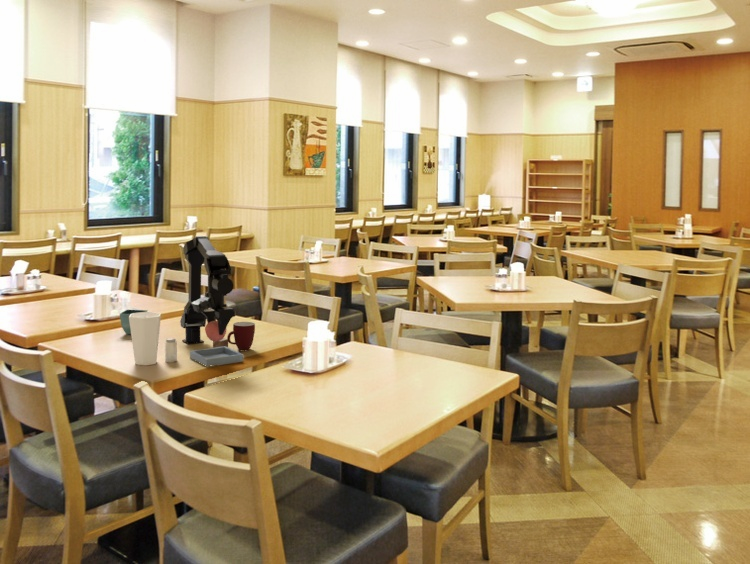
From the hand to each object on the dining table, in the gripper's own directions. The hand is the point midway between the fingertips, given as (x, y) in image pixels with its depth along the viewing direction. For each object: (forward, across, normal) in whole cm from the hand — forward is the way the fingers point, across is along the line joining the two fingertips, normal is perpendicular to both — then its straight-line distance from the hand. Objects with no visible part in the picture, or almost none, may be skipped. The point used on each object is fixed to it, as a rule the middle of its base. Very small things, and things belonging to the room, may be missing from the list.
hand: (216, 332), depth 256 cm
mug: (+10, -8, +14) cm, 19 cm away
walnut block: (+10, -13, +8) cm, 18 cm away
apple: (+3, 0, 0) cm, 3 cm away
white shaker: (+10, -7, -14) cm, 18 cm away
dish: (+10, 0, 0) cm, 10 cm away
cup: (+10, -9, -22) cm, 26 cm away
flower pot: (+10, -55, -10) cm, 57 cm away
